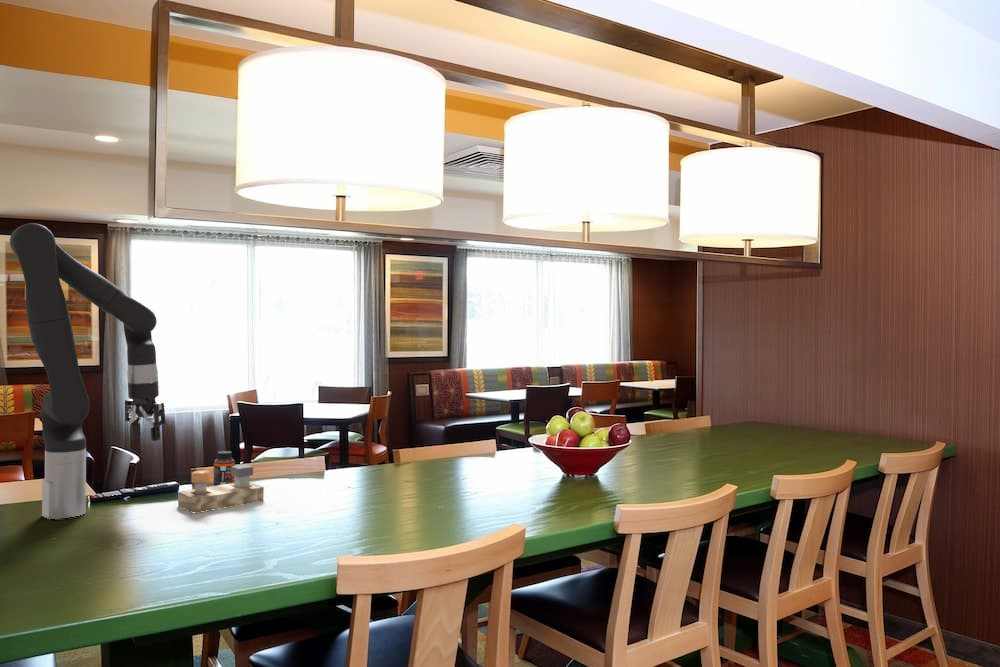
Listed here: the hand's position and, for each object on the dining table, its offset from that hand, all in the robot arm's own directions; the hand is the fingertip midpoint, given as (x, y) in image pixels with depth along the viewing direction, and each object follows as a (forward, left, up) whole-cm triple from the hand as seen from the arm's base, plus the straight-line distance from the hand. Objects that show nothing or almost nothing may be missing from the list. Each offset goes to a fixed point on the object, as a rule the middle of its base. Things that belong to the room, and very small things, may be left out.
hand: (145, 438), depth 204 cm
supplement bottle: (+24, +3, -19) cm, 30 cm away
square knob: (+22, -12, -14) cm, 29 cm away
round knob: (+10, -12, -14) cm, 21 cm away
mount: (+16, -12, -18) cm, 27 cm away
